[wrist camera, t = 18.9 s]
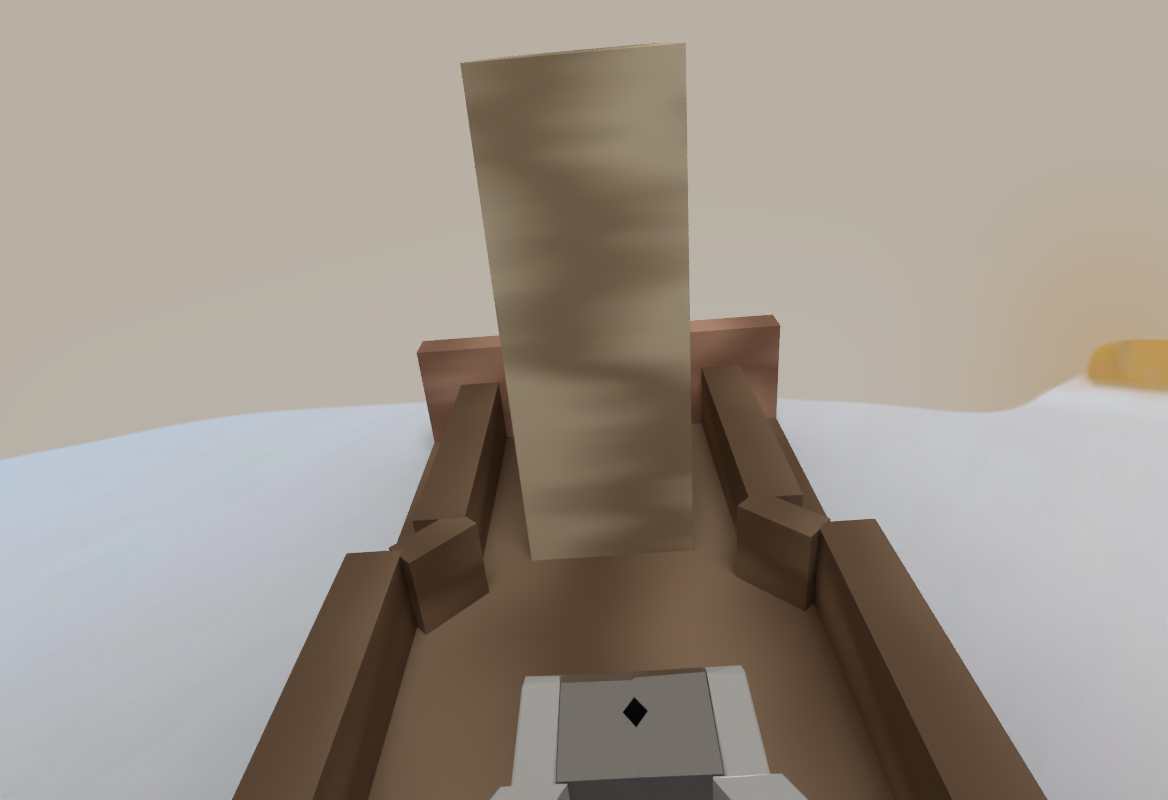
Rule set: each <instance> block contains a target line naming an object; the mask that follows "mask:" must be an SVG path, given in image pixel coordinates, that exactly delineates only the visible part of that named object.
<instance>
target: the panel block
mask: <svg viewBox="0 0 1168 800" xmlns="http://www.w3.org/2000/svg"><path fill="white" fill-rule="evenodd" d="M461 71H462V77H463V84H464V91H465V97H466V105H467V112H468V119H469V126H470V133H471V140H472V147H473V154H474V161H475V168H476V175H477V182H478V189H479V195H480V203H481V210H482V217H483V223H484V230H485V238H486V245H487V252H488V259H489V266H490V273H491V280H492V287H493V294H494V301H495V307H496V315H497V322H498V328H499V336H500V343H501V350H502V357H503V364H504V370H505V377H506V384H507V391H508V398H509V405H510V412H511V419H512V426H513V433H514V440H515V447H516V454H517V461H518V468H519V475H520V482H521V489H522V496H523V503H524V510H525V517H526V524H527V531H528V538H529V545H530V552H531V559H532V561H536V560H552V559H567V558H582V557H598V556H613V555H629V554H644V553H660V552H675V551H691V550H693V496H692V431H691V367H690V303H689V242H688V240H689V239H688V181H687V180H688V174H687V110H686V48H685V43H652V44H641V45H630V46H619V47H608V48H596V49H585V50H574V51H563V52H552V53H543V54H542V53H541V54H531V55H519V56H508V57H498V58H492V59H485V60H478V61H472V62H465V63H461Z"/></svg>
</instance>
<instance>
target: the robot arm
mask: <svg viewBox="0 0 1168 800" xmlns="http://www.w3.org/2000/svg"><path fill="white" fill-rule="evenodd" d="M490 800H808V799H807V798H806V797H805V796H804V795H803V794H802V793H801V792H800V791H799V790H798V789H797V788H796V787H795V786H794V785H793V784H792V783H791V782H790V781H789V780H788V779H787V778H786V777H785V776H784V775H783V774H770V770H769V766H768V762H767V758H766V754H765V750H764V746H763V742H762V738H761V734H760V730H759V726H758V722H757V718H756V714H755V710H754V706H753V702H752V698H751V694H750V690H749V686H748V682H747V678H746V674H745V671H744V669H743V668H742V666H741V665H737V666H720V667H705V668H703V667H697V668H682V669H667V670H652V671H637V672H633V673H607V674H571V675H554V676H526V677H525V680H524V683H523V685H522V691H521V700H520V710H519V719H518V728H517V737H516V746H515V755H514V765H513V774H512V783H511V786H502V787H499V789H498V790H497V791H496V793H495V794H494V795H493V796H492V798H491V799H490Z"/></svg>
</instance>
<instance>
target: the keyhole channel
mask: <svg viewBox="0 0 1168 800" xmlns="http://www.w3.org/2000/svg"><path fill="white" fill-rule="evenodd" d="M779 338H780V325H779V323H778V322H777V320H776V319H775V317H774V316H773V315H763V316H750V317H737V318H724V319H711V320H699V321H690V367H691V431H692V496H693V550H691V551H675V552H660V553H644V554H629V555H613V556H598V557H582V558H567V559H552V560H536V561H532V559H531V552H530V545H529V538H528V531H527V524H526V517H525V510H524V503H523V496H522V489H521V482H520V475H519V468H518V461H517V454H516V447H515V440H514V433H513V426H512V419H511V412H510V405H509V398H508V391H507V384H506V377H505V370H504V364H503V357H502V350H501V343H500V336H488V337H475V338H461V339H448V340H435V341H423V342H422V344H421V346H420V348H419V350H418V352H417V356H418V361H419V366H420V371H421V376H422V381H423V386H424V391H425V396H426V401H427V406H428V411H429V416H430V421H431V426H432V431H433V436H434V441H435V443H434V446H433V448H432V451H431V454H430V456H429V459H428V462H427V464H426V467H425V470H424V472H423V475H422V478H421V480H420V483H419V486H418V488H417V491H416V494H415V496H414V499H413V502H412V504H411V507H410V510H409V512H408V515H407V518H406V520H405V523H404V526H403V528H402V531H401V534H400V536H399V539H398V542H397V544H395V545H393V546H391V547H390V548H389V550H390V551H378V552H363V553H348V554H346V556H345V558H344V560H343V562H342V565H341V567H340V569H339V571H338V573H337V575H336V577H335V580H334V582H333V584H332V586H331V588H330V590H329V592H328V595H327V597H326V599H325V601H324V603H323V605H322V608H321V610H320V612H319V614H318V616H317V618H316V620H315V623H314V625H313V627H312V629H311V631H310V633H309V635H308V638H307V640H306V642H305V644H304V646H303V648H302V650H301V653H300V655H299V657H298V659H297V661H296V663H295V666H294V668H293V670H292V672H291V674H290V676H289V678H288V681H287V683H286V685H285V687H284V689H283V691H282V693H281V696H280V698H279V700H278V702H277V704H276V706H275V709H274V711H273V713H272V715H271V717H270V719H269V721H268V724H267V726H266V728H265V730H264V732H263V734H262V736H261V739H260V741H259V743H258V745H257V747H256V749H255V751H254V754H253V756H252V758H251V760H250V762H249V764H248V767H247V769H246V771H245V773H244V775H243V777H242V779H241V782H240V784H239V786H238V788H237V790H236V792H235V794H234V797H233V799H232V800H490V799H491V798H492V796H493V795H494V794H495V793H496V791H497V790H498V789H499V787H502V786H511V783H512V774H513V765H514V755H515V746H516V737H517V728H518V719H519V710H520V700H521V691H522V685H523V683H524V680H525V677H526V676H554V675H571V674H607V673H633V672H637V671H652V670H667V669H682V668H697V667H703V668H705V667H720V666H737V665H741V666H742V668H743V669H744V671H745V674H746V678H747V682H748V686H749V690H750V694H751V698H752V702H753V706H754V710H755V714H756V718H757V722H758V726H759V730H760V734H761V738H762V742H763V746H764V750H765V754H766V758H767V762H768V766H769V770H770V774H783V775H784V776H785V777H786V778H787V779H788V780H789V781H790V782H791V783H792V784H793V785H794V786H795V787H796V788H797V789H798V790H799V791H800V792H801V793H802V794H803V795H804V796H805V797H806V798H807V799H808V800H1047V798H1046V797H1045V795H1044V793H1043V792H1042V790H1041V788H1040V787H1039V785H1038V784H1037V782H1036V780H1035V779H1034V777H1033V775H1032V774H1031V772H1030V770H1029V769H1028V767H1027V766H1026V764H1025V762H1024V761H1023V759H1022V757H1021V756H1020V754H1019V753H1018V751H1017V749H1016V748H1015V746H1014V744H1013V743H1012V741H1011V740H1010V738H1009V736H1008V735H1007V733H1006V731H1005V730H1004V728H1003V727H1002V725H1001V723H1000V722H999V720H998V718H997V717H996V715H995V713H994V712H993V710H992V709H991V707H990V705H989V704H988V702H987V700H986V699H985V697H984V696H983V694H982V692H981V691H980V689H979V687H978V686H977V684H976V683H975V681H974V679H973V678H972V676H971V674H970V673H969V671H968V669H967V668H966V666H965V665H964V663H963V661H962V660H961V658H960V656H959V655H958V653H957V652H956V650H955V648H954V647H953V645H952V643H951V642H950V640H949V639H948V637H947V635H946V634H945V632H944V630H943V629H942V627H941V625H940V624H939V622H938V621H937V619H936V617H935V616H934V614H933V612H932V611H931V609H930V608H929V606H928V604H927V603H926V601H925V599H924V598H923V596H922V595H921V593H920V591H919V590H918V588H917V586H916V585H915V583H914V582H913V580H912V578H911V577H910V575H909V573H908V572H907V570H906V568H905V567H904V565H903V564H902V562H901V560H900V559H899V557H898V555H897V554H896V552H895V551H894V549H893V547H892V546H891V544H890V542H889V541H888V539H887V538H886V536H885V534H884V533H883V531H882V529H881V528H880V526H879V524H878V523H877V521H876V520H875V519H865V520H850V521H835V522H830V519H829V518H827V516H826V514H825V512H824V510H823V508H822V506H821V505H820V503H819V501H818V499H817V497H816V495H815V493H814V491H813V489H812V487H811V485H810V483H809V481H808V479H807V477H806V475H805V473H804V471H803V470H802V468H801V466H800V464H799V462H798V460H797V458H796V456H795V454H794V452H793V450H792V448H791V446H790V444H789V442H788V440H787V438H786V436H785V435H784V433H783V431H782V429H781V427H780V425H779V423H778V421H777V419H776V406H777V383H778V360H779Z"/></svg>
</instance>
